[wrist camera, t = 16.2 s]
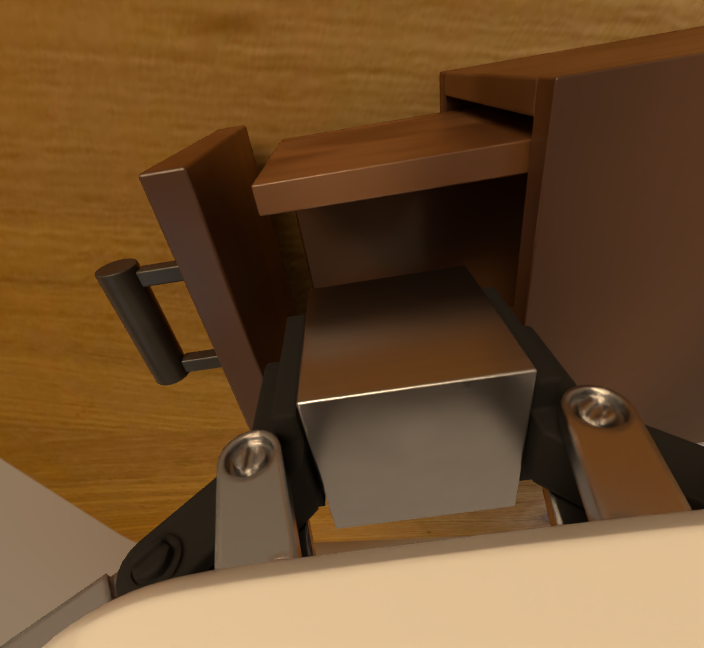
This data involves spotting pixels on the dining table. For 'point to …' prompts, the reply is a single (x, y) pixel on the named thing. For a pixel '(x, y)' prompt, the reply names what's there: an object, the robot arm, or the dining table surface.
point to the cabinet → (612, 213)
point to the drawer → (320, 228)
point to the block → (413, 397)
